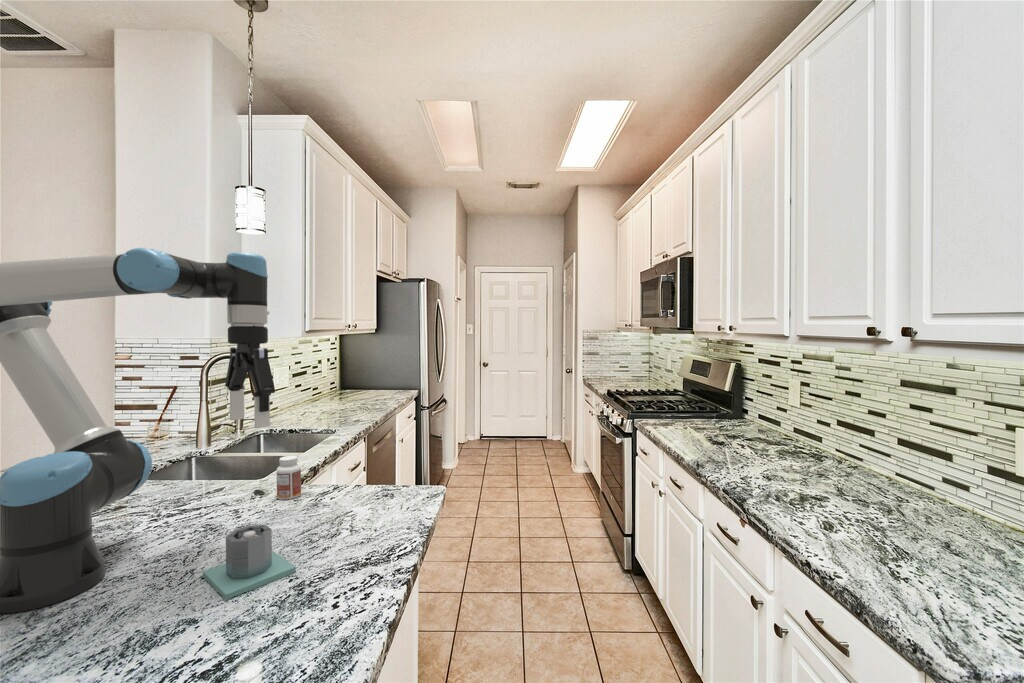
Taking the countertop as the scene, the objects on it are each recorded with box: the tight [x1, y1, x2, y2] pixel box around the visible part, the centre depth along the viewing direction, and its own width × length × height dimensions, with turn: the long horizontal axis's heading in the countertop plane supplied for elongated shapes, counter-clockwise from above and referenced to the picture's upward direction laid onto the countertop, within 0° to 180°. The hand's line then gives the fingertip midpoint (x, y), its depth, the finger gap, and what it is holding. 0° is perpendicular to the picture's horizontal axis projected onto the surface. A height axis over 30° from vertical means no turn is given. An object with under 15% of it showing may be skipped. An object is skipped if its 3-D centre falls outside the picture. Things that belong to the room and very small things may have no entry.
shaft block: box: [202, 531, 297, 601], centre depth 86 cm, size 12×12×8 cm
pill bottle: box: [276, 455, 302, 501], centre depth 128 cm, size 6×6×11 cm
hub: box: [225, 524, 273, 579], centre depth 86 cm, size 7×7×7 cm
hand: (249, 423), depth 98 cm, fingers open, 13 cm apart
